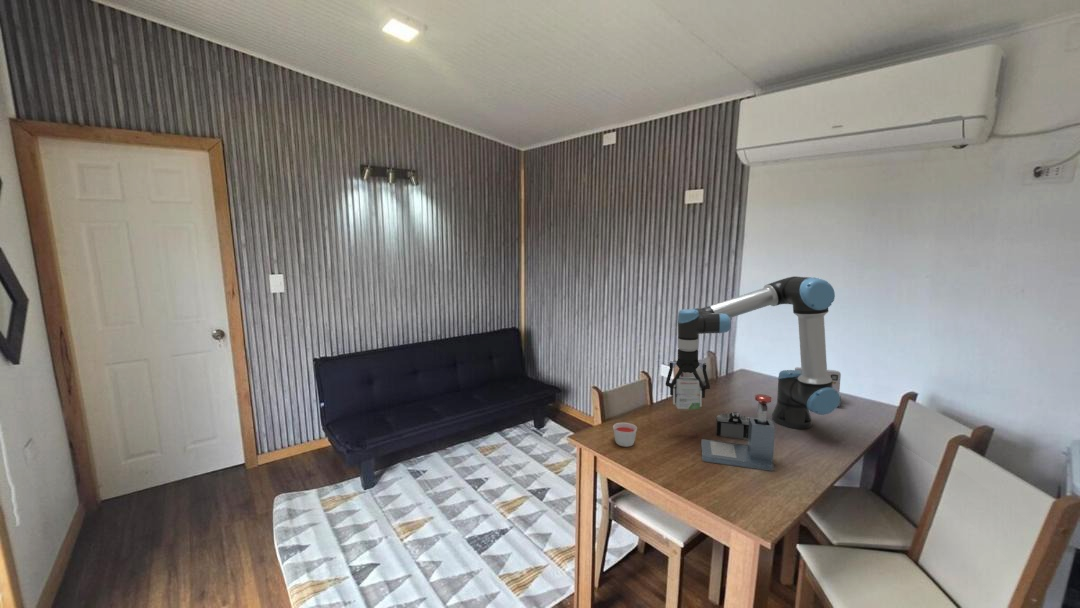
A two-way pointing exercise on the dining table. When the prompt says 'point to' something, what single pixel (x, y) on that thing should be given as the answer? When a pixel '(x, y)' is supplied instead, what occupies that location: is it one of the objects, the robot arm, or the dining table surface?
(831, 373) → the instant camera
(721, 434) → the camera
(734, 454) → the press
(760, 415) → the plunger
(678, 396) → the ink box
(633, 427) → the candle
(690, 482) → the dining table surface
